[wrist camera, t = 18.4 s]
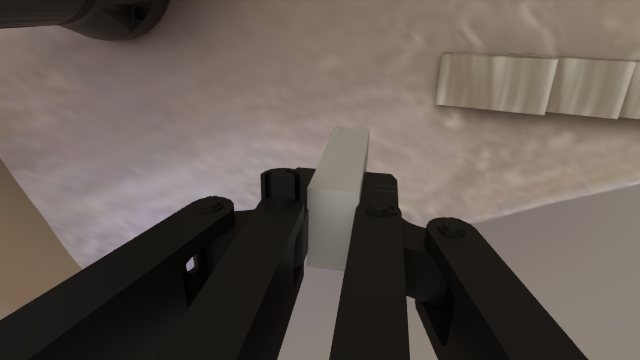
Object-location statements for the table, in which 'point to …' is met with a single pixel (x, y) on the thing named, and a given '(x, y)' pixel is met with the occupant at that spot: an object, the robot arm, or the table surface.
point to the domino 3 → (632, 95)
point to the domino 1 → (496, 82)
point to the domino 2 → (588, 86)
